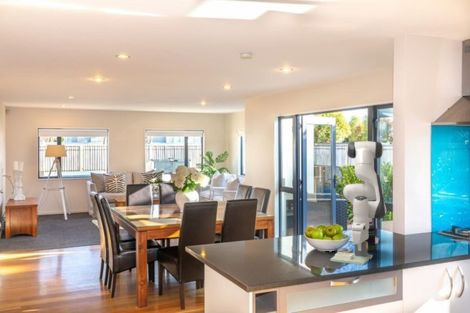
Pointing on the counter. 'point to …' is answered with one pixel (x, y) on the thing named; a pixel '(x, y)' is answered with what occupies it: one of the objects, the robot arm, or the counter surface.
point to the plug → (364, 250)
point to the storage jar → (371, 239)
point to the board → (349, 257)
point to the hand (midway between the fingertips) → (361, 249)
